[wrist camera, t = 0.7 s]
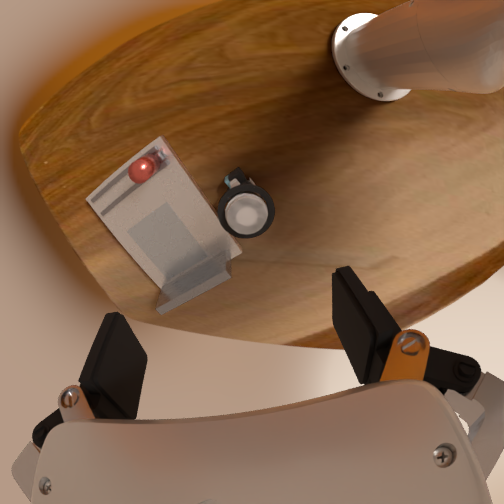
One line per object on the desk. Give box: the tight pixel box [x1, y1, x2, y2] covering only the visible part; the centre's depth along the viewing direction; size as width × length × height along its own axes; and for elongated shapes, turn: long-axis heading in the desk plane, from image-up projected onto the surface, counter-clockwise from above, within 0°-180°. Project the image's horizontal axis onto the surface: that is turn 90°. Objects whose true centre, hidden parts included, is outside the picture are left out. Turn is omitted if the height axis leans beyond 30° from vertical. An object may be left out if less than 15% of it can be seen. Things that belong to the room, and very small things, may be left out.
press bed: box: [86, 135, 242, 315], centre depth 32 cm, size 13×18×6 cm
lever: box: [128, 152, 164, 184], centre depth 27 cm, size 3×2×5 cm
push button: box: [218, 167, 275, 238], centre depth 29 cm, size 7×5×10 cm
